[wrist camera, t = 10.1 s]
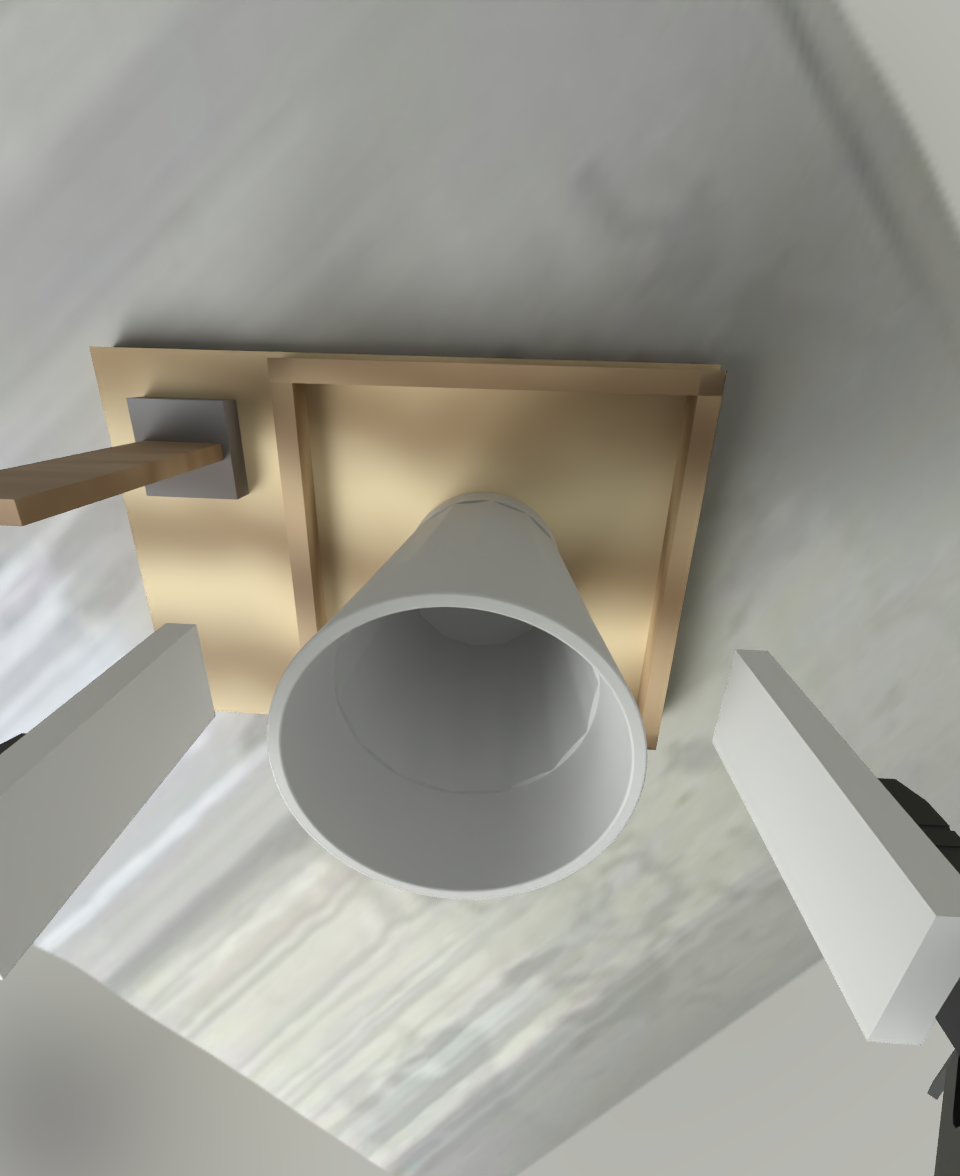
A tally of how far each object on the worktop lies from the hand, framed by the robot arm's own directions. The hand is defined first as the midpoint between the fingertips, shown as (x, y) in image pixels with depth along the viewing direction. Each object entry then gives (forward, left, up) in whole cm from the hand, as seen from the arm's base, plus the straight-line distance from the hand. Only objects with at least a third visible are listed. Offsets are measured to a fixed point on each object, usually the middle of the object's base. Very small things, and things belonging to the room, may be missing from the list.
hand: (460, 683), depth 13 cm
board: (0, -3, -11) cm, 11 cm away
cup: (0, 0, -10) cm, 10 cm away
